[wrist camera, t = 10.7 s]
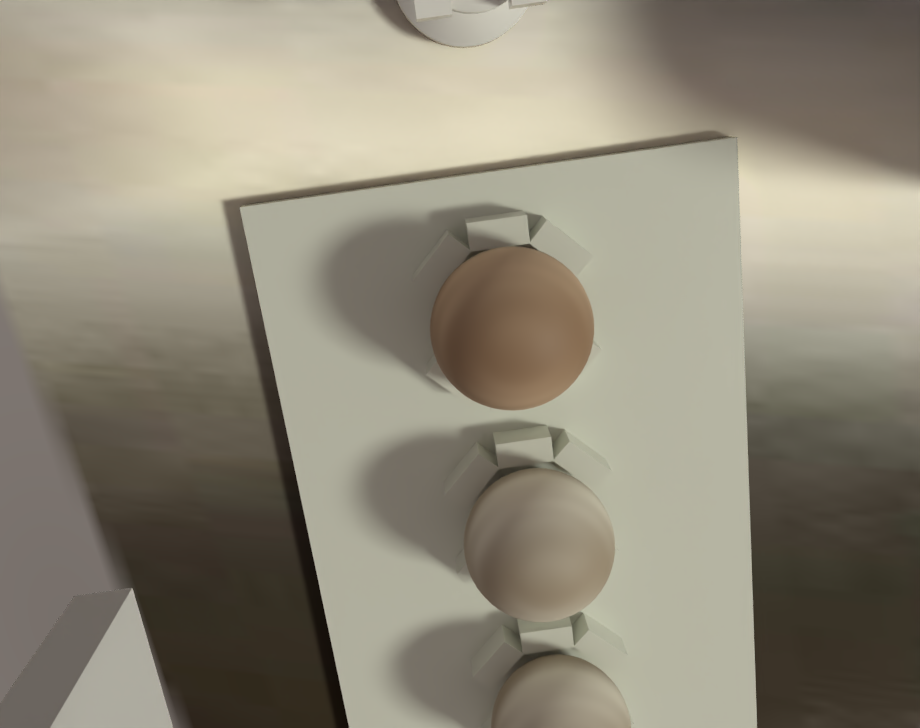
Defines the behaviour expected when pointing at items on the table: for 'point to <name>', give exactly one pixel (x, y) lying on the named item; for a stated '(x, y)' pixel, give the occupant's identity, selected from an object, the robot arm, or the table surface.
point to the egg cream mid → (539, 545)
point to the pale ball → (559, 696)
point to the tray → (522, 430)
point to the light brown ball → (512, 328)
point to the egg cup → (464, 19)
